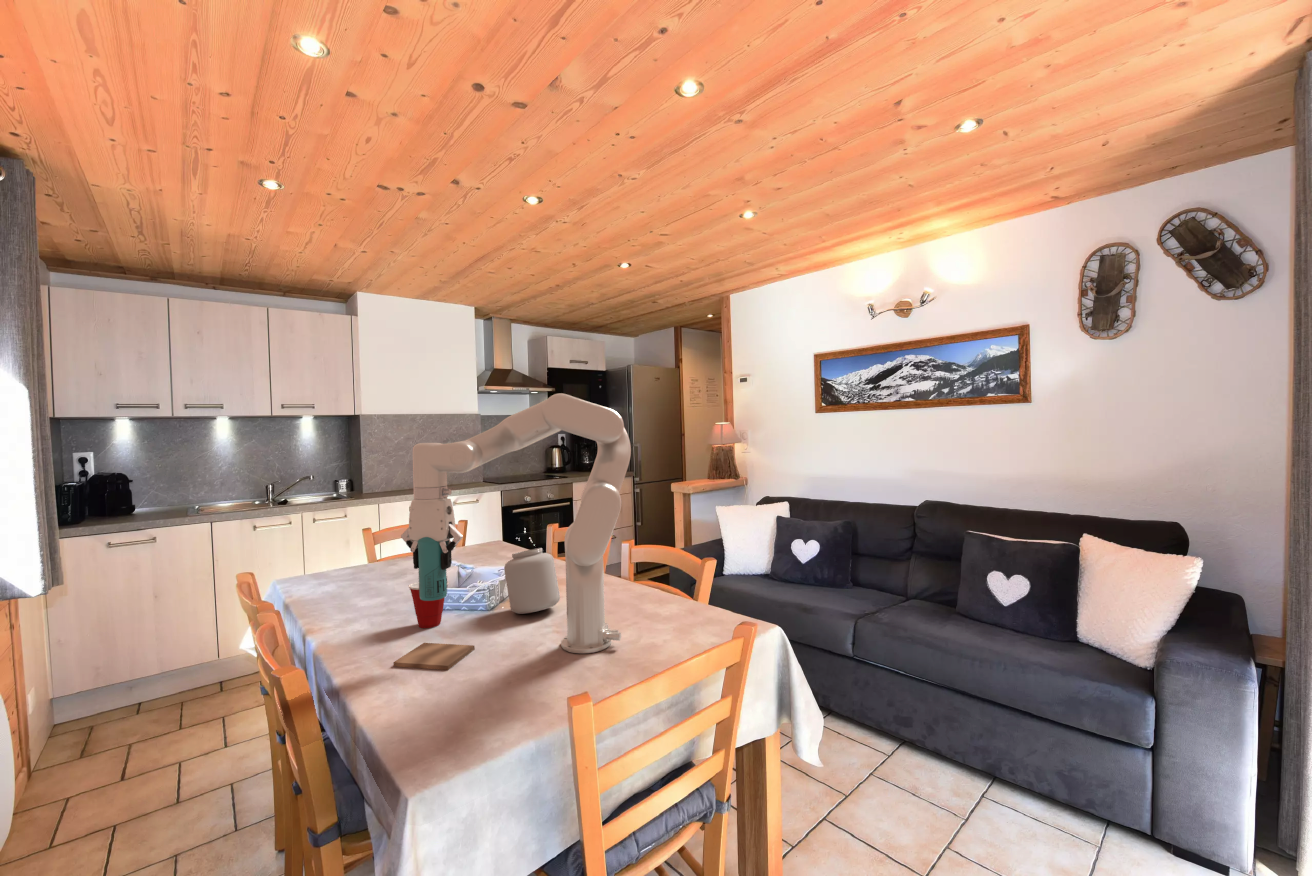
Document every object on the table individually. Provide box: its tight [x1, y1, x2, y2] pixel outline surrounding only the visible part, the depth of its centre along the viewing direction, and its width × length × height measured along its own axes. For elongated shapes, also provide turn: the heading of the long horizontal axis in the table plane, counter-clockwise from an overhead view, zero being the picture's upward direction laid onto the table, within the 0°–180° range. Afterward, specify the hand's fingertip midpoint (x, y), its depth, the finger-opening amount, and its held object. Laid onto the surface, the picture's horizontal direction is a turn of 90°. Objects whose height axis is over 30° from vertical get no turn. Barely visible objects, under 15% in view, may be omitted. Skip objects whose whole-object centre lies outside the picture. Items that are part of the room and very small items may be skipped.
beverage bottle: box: [417, 537, 448, 601], centre depth 135 cm, size 6×7×20 cm
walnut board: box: [393, 642, 475, 671], centre depth 135 cm, size 14×12×1 cm
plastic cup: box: [408, 580, 450, 629], centre depth 159 cm, size 11×11×12 cm
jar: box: [502, 527, 561, 615], centre depth 169 cm, size 19×15×25 cm
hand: (432, 567), depth 135 cm, fingers closed on beverage bottle, 6 cm apart
